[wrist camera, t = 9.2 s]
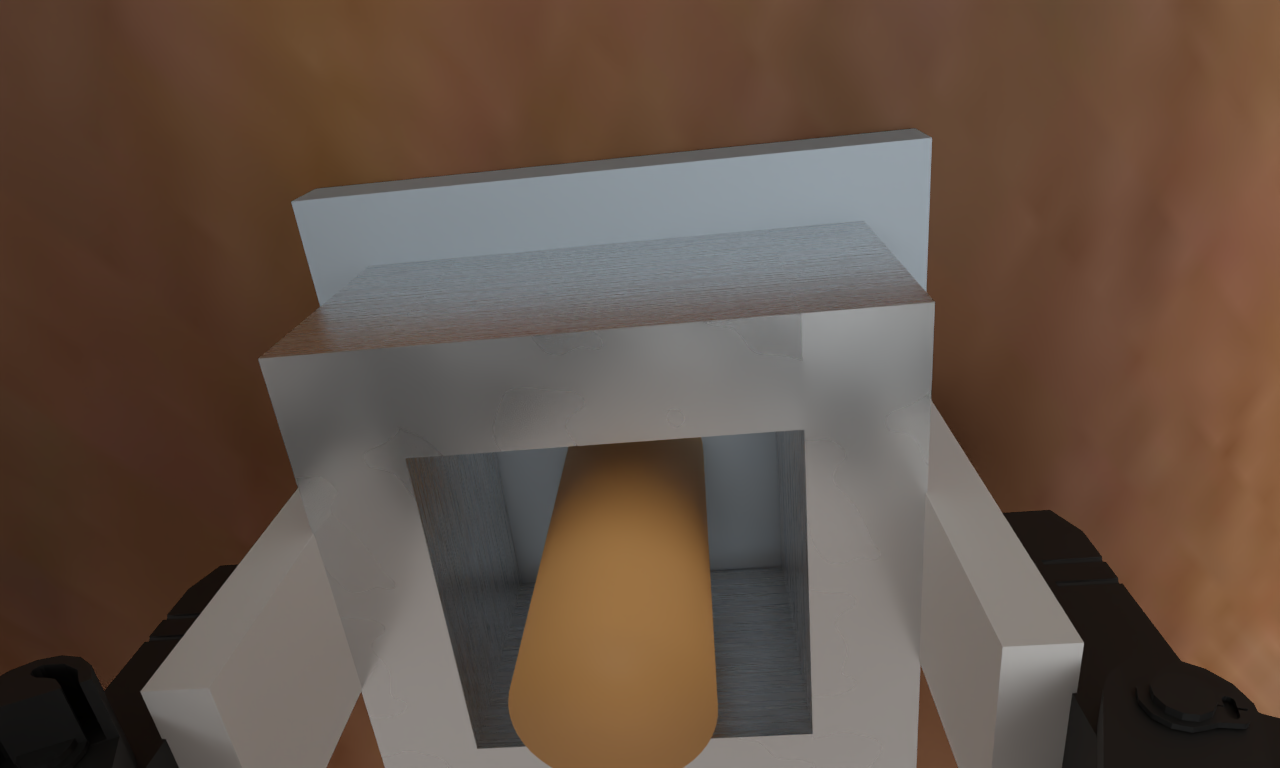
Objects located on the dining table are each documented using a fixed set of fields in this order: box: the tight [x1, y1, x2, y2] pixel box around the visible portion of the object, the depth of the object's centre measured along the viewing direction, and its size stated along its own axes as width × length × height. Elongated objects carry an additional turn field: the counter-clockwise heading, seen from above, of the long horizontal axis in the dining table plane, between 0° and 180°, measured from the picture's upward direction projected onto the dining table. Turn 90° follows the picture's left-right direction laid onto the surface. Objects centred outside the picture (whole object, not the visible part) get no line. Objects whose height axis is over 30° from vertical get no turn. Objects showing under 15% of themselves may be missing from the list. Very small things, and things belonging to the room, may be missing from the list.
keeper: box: [291, 128, 932, 768], centre depth 13 cm, size 10×10×7 cm
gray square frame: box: [258, 220, 935, 768], centre depth 13 cm, size 8×8×4 cm
